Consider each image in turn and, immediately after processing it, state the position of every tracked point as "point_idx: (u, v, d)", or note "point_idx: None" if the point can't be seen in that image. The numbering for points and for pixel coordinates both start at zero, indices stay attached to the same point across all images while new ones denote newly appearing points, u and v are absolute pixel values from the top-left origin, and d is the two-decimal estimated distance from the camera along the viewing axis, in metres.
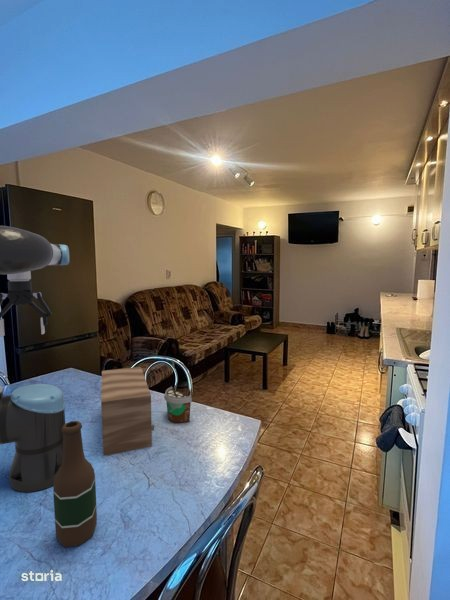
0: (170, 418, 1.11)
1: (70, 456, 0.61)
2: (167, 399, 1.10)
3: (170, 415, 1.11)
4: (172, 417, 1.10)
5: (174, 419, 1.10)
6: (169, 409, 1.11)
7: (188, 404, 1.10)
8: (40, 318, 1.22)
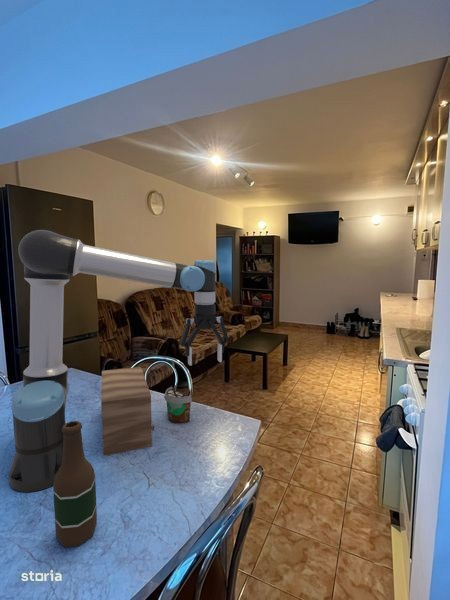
0: (170, 418, 1.11)
1: (71, 456, 0.61)
2: (167, 399, 1.10)
3: (170, 415, 1.11)
4: (172, 417, 1.10)
5: (174, 419, 1.10)
6: (169, 409, 1.11)
7: (188, 404, 1.10)
8: (220, 345, 1.14)
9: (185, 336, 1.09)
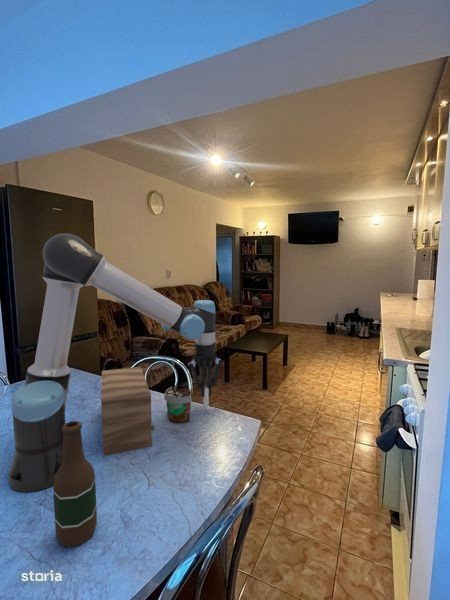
0: (170, 418, 1.11)
1: (70, 456, 0.61)
2: (167, 399, 1.10)
3: (170, 415, 1.11)
4: (172, 417, 1.10)
5: (174, 419, 1.10)
6: (169, 409, 1.11)
7: (188, 404, 1.10)
8: (206, 389, 1.14)
9: (196, 379, 1.13)
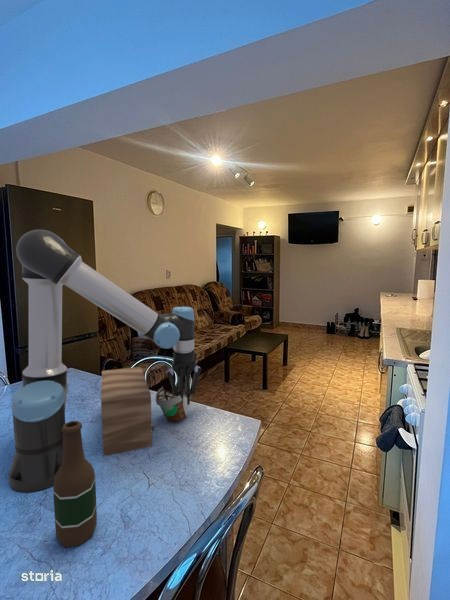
0: (167, 419, 1.11)
1: (70, 456, 0.61)
2: (158, 403, 1.08)
3: (166, 416, 1.10)
4: (168, 418, 1.10)
5: (170, 419, 1.09)
6: (163, 411, 1.10)
7: (179, 403, 1.08)
8: (185, 398, 1.12)
9: (174, 387, 1.10)
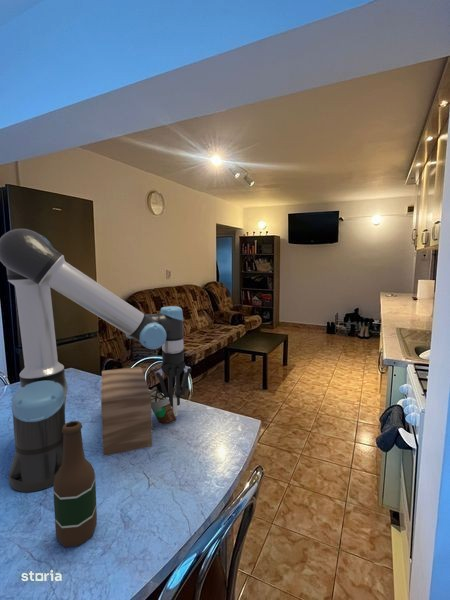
0: (157, 419, 1.10)
1: (71, 456, 0.61)
2: None
3: (156, 417, 1.10)
4: (158, 419, 1.09)
5: (160, 420, 1.09)
6: None
7: (168, 406, 1.06)
8: (174, 399, 1.10)
9: (163, 388, 1.09)
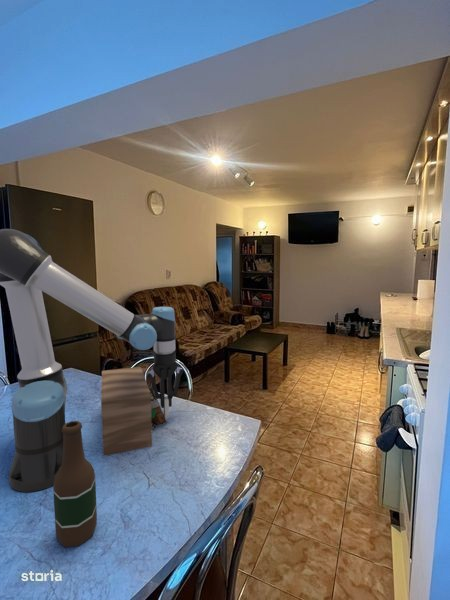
0: None
1: (71, 456, 0.61)
2: None
3: None
4: None
5: (151, 421, 1.08)
6: None
7: (157, 408, 1.05)
8: (166, 400, 1.09)
9: (155, 389, 1.08)
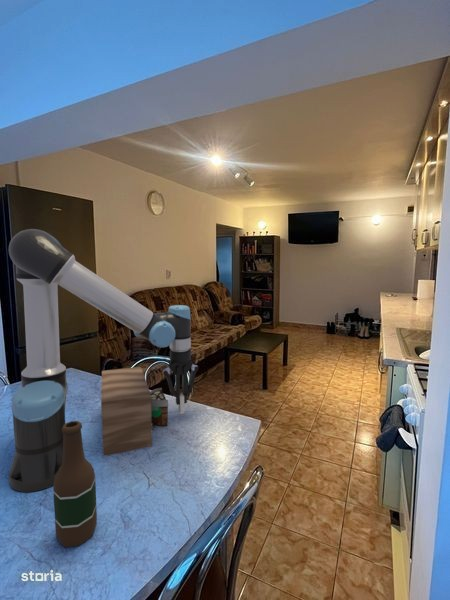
0: (151, 419, 1.10)
1: (71, 456, 0.61)
2: None
3: None
4: (151, 418, 1.09)
5: (153, 421, 1.09)
6: None
7: (165, 408, 1.06)
8: (182, 397, 1.11)
9: (171, 386, 1.10)
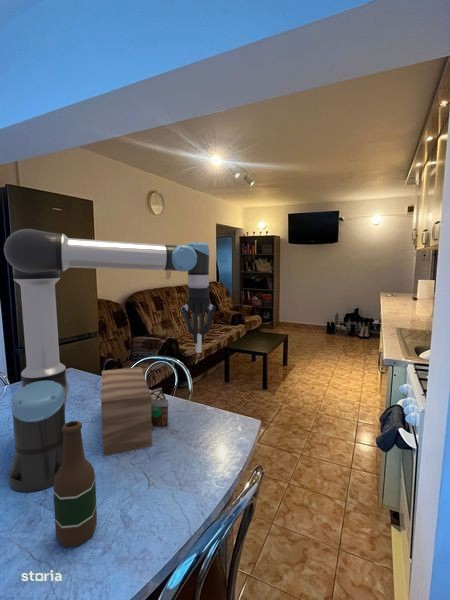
0: (151, 419, 1.10)
1: (70, 456, 0.61)
2: None
3: None
4: (151, 418, 1.09)
5: (153, 421, 1.09)
6: None
7: (165, 408, 1.06)
8: (199, 335, 1.11)
9: (188, 323, 1.09)
